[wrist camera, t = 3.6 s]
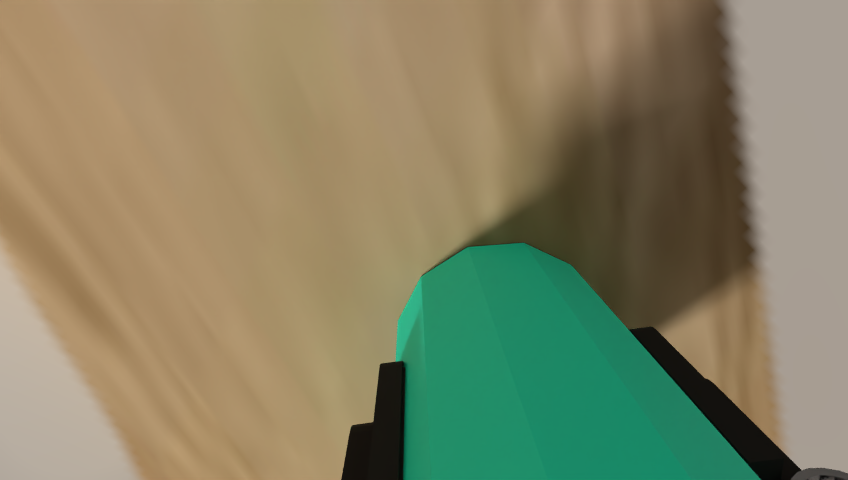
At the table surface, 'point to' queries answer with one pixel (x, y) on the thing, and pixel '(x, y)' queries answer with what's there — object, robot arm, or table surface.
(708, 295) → the table surface
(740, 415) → the robot arm
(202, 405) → the table surface
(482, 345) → the candle
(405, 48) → the table surface
